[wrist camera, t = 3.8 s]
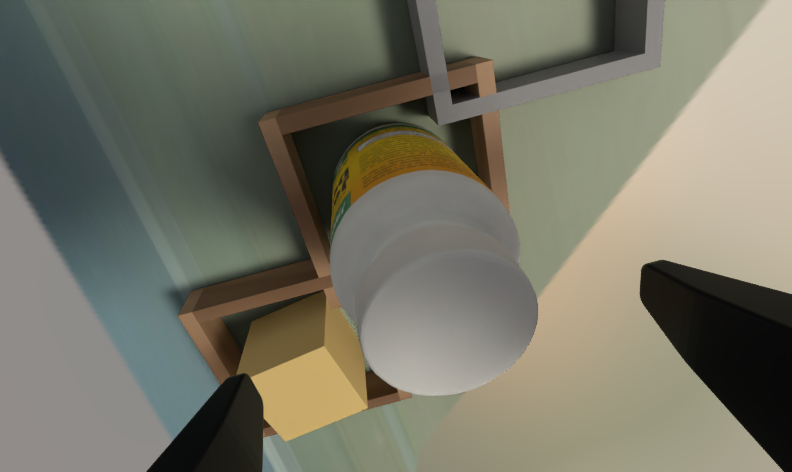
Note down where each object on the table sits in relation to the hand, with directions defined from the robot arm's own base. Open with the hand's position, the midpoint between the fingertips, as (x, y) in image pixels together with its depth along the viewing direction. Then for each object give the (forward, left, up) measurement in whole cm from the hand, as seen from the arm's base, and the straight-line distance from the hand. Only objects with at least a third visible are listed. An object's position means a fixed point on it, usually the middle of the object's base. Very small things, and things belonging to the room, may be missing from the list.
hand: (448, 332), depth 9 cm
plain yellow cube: (-6, +6, -10) cm, 13 cm away
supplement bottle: (0, 0, -10) cm, 10 cm away
